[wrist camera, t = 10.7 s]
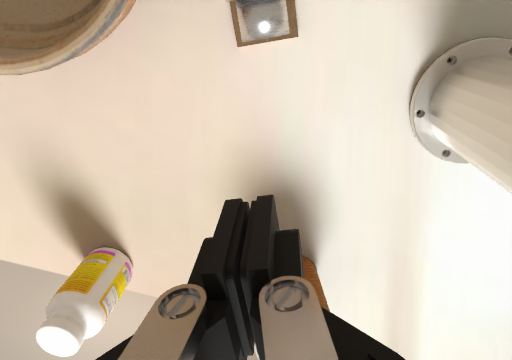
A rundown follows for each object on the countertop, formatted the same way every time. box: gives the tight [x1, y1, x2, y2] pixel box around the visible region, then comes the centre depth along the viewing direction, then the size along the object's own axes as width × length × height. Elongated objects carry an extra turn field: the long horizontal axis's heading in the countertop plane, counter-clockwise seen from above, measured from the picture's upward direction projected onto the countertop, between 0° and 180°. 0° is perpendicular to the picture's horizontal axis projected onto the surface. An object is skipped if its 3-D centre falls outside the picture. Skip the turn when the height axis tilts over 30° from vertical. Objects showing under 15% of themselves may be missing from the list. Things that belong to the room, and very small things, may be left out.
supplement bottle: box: [36, 247, 133, 357], centre depth 42 cm, size 7×7×13 cm
